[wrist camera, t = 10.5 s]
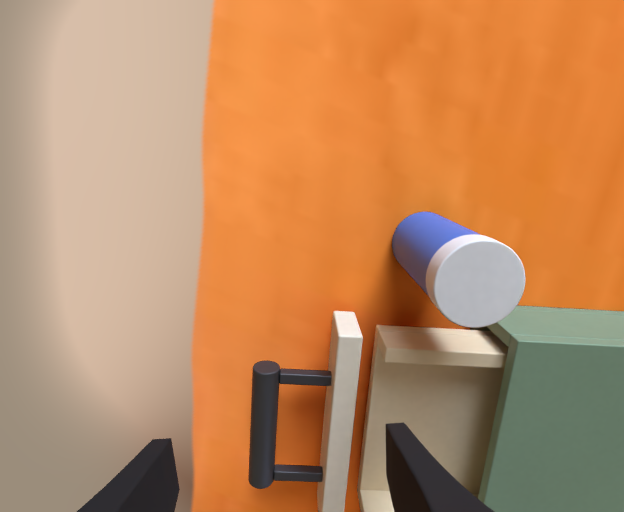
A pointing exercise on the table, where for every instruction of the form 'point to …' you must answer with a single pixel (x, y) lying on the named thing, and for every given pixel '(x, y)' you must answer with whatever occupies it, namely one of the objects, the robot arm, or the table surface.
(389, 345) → the drawer
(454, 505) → the robot arm
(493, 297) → the medicine bottle
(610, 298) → the table surface
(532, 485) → the cabinet
